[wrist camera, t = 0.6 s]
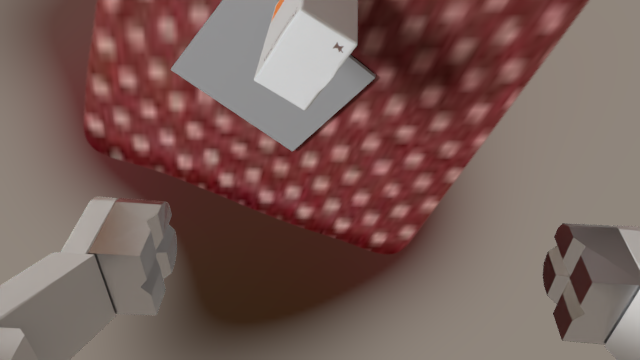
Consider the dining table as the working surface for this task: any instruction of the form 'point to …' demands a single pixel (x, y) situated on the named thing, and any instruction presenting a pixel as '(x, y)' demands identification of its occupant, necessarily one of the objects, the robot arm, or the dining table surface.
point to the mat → (240, 68)
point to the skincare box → (306, 47)
